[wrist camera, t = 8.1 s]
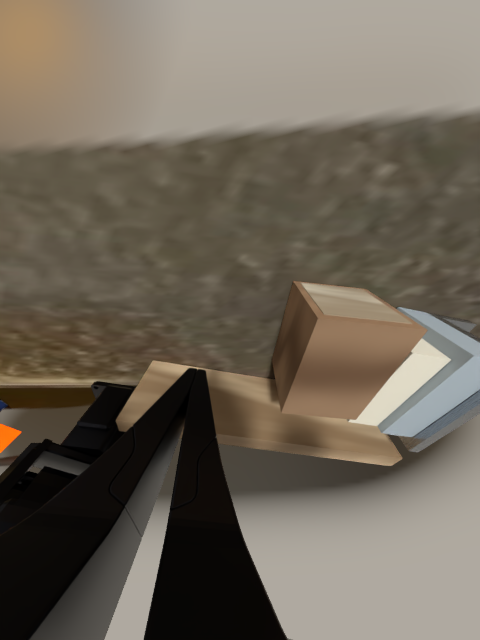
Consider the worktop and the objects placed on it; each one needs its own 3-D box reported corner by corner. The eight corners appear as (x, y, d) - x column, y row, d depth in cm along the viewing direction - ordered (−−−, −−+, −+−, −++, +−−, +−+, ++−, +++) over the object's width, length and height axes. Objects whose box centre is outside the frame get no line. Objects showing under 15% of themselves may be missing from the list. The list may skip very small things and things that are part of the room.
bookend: (397, 390, 19) (452, 457, 14) (364, 385, 19) (408, 451, 14) (470, 321, 14) (593, 382, 9) (427, 312, 14) (529, 370, 9)
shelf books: (369, 379, 18) (411, 437, 14) (323, 371, 18) (351, 428, 13) (426, 312, 14) (516, 363, 9) (368, 301, 14) (431, 348, 9)
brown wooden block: (326, 364, 18) (355, 420, 13) (271, 358, 17) (281, 413, 13) (364, 287, 13) (429, 329, 9) (293, 279, 13) (318, 317, 9)
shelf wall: (354, 401, 20) (390, 466, 15) (154, 370, 19) (119, 430, 14) (361, 393, 19) (402, 458, 14) (153, 360, 18) (115, 420, 13)
